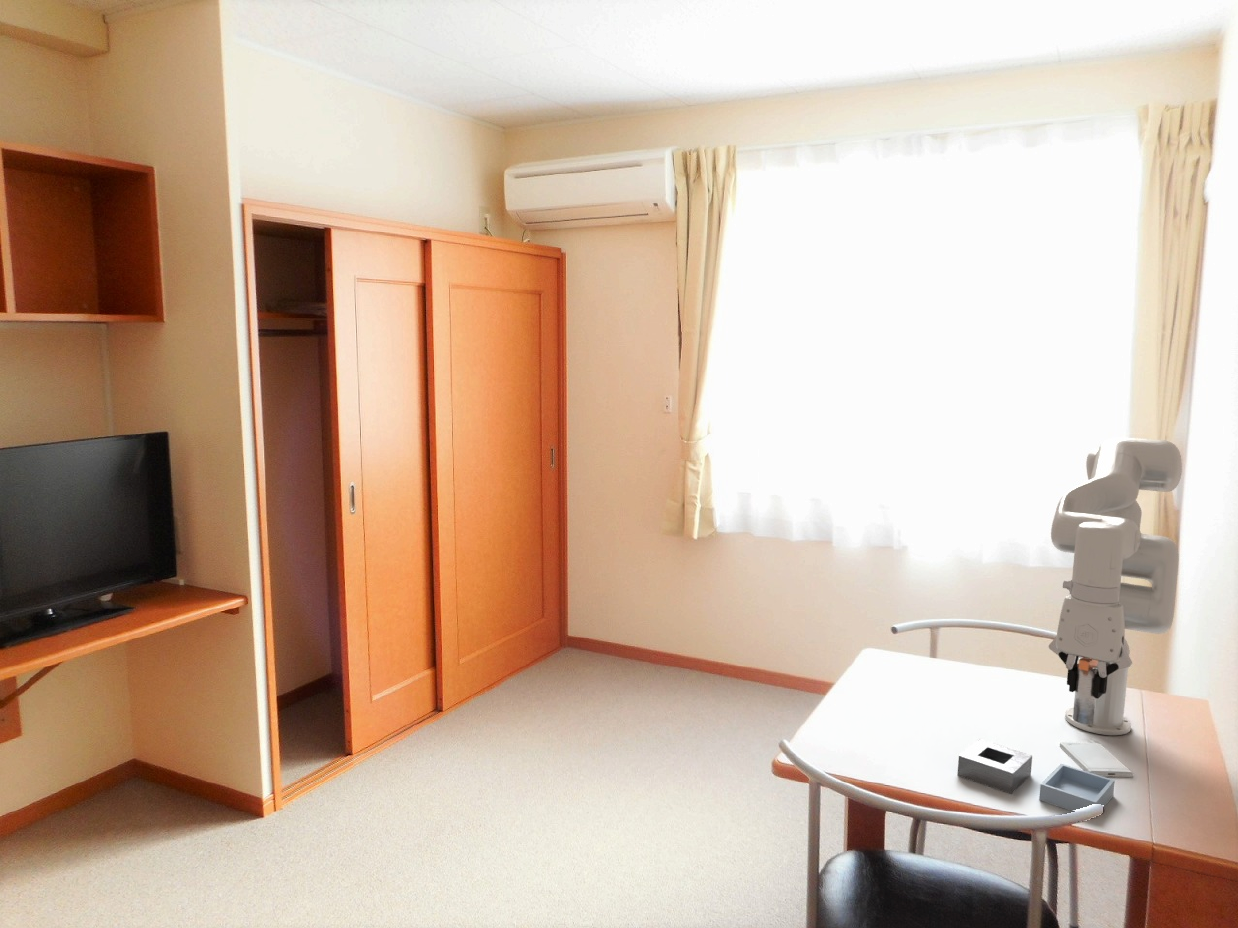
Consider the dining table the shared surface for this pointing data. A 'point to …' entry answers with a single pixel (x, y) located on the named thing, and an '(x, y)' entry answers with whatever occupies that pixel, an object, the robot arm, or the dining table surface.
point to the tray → (1075, 788)
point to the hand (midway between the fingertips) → (1085, 691)
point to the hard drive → (1095, 759)
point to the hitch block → (995, 766)
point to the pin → (1085, 691)
